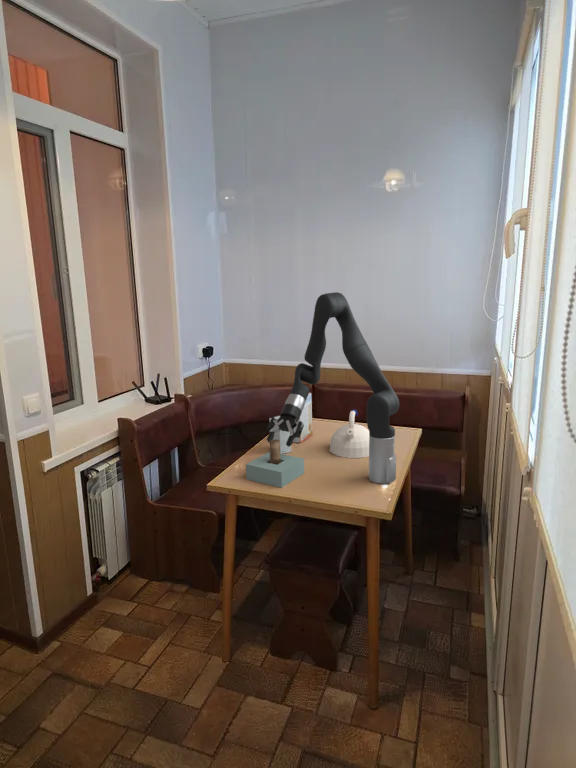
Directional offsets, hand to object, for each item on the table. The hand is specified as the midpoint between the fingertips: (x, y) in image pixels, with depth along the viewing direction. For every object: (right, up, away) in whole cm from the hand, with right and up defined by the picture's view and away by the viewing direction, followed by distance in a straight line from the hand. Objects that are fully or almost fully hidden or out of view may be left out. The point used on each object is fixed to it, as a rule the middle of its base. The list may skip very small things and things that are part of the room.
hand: (278, 443), depth 196 cm
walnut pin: (-1, -11, +1) cm, 12 cm away
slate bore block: (-1, -12, +1) cm, 13 cm away
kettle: (+32, -6, +28) cm, 43 cm away
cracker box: (+10, -3, +45) cm, 46 cm away
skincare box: (0, -7, +29) cm, 30 cm away
